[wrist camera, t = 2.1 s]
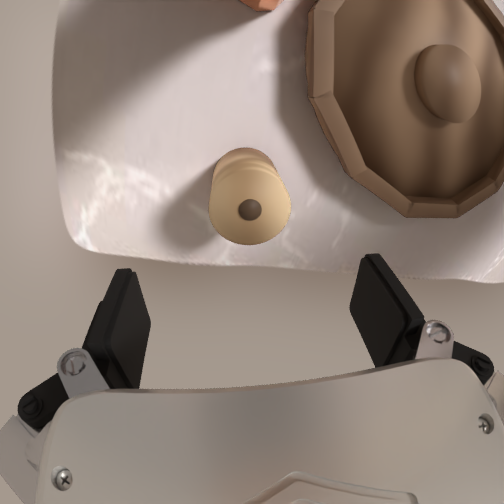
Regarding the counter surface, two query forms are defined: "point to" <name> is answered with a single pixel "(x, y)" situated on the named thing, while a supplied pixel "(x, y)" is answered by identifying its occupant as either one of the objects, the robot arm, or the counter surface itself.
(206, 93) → the counter surface
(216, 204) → the bead
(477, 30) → the ring tray
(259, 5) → the whiskey bottle
